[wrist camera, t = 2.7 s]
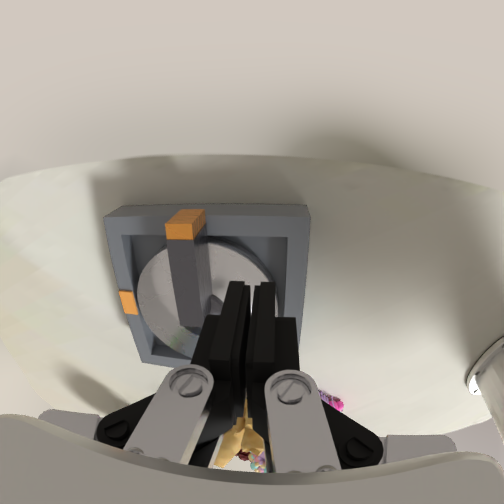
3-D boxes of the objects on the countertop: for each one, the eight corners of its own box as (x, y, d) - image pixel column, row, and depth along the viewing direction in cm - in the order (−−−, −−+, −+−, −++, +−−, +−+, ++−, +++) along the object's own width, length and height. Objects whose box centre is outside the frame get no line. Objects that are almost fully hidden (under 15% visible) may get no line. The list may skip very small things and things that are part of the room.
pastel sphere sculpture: (177, 429, 39) (163, 474, 31) (245, 356, 30) (234, 426, 22) (299, 467, 43) (298, 506, 34) (393, 411, 33) (405, 462, 25)
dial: (275, 353, 26) (273, 392, 22) (158, 343, 27) (141, 377, 23) (281, 203, 20) (281, 225, 16) (129, 204, 21) (96, 225, 17)
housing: (306, 205, 22) (310, 218, 19) (294, 354, 29) (295, 378, 26) (121, 206, 23) (101, 218, 20) (152, 343, 30) (141, 363, 27)
